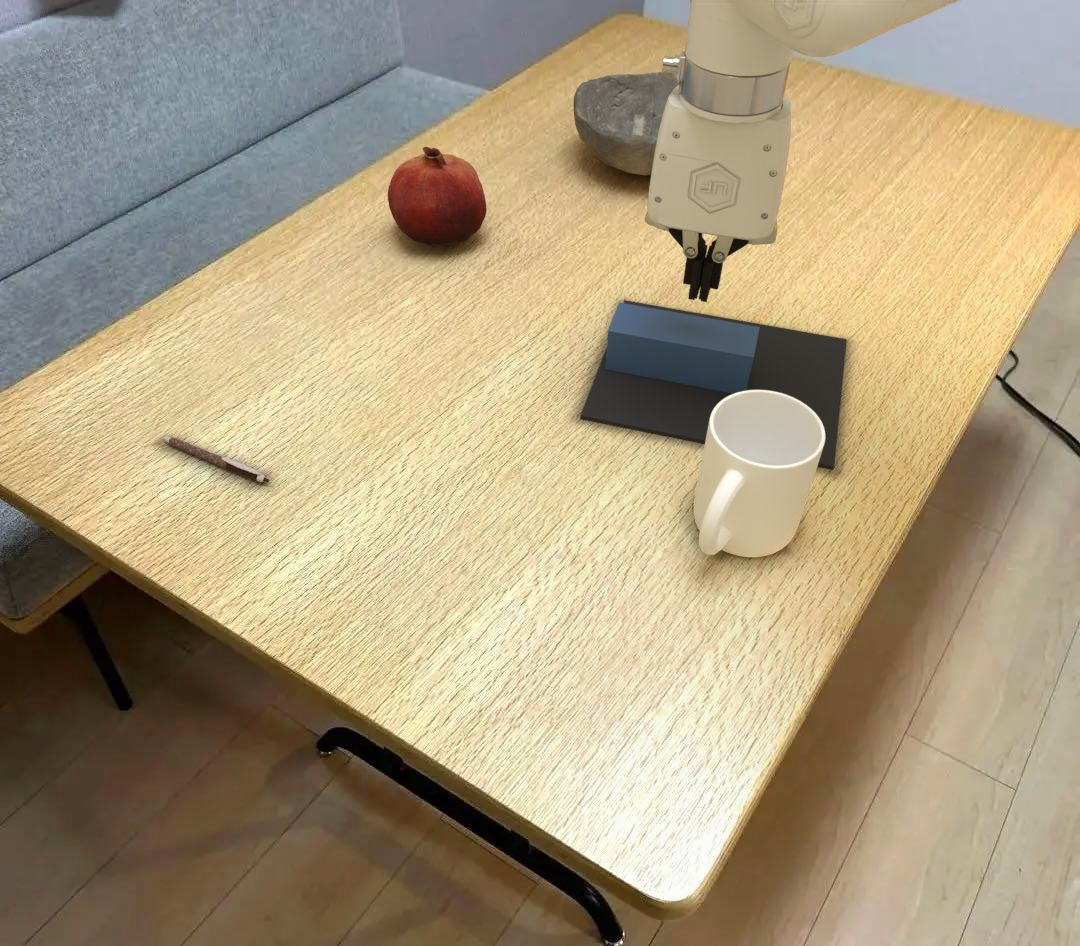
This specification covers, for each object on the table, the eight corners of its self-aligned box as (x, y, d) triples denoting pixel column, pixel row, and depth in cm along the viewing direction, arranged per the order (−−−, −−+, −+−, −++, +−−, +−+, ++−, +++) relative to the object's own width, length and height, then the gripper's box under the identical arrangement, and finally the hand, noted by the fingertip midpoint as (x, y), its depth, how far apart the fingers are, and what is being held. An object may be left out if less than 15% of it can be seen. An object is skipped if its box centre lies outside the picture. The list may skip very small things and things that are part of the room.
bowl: (725, 202, 110) (736, 136, 104) (573, 200, 110) (575, 134, 104) (706, 129, 122) (715, 67, 116) (570, 128, 122) (572, 66, 116)
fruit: (374, 249, 102) (363, 162, 95) (419, 205, 108) (412, 121, 101) (462, 272, 99) (457, 185, 92) (503, 226, 105) (502, 141, 98)
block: (759, 326, 85) (619, 302, 88) (753, 357, 82) (608, 330, 85) (751, 365, 88) (615, 340, 91) (745, 396, 85) (605, 369, 88)
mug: (742, 611, 69) (767, 518, 62) (646, 557, 73) (660, 463, 65) (814, 513, 76) (845, 419, 69) (723, 468, 79) (744, 374, 72)
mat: (845, 342, 92) (846, 338, 91) (833, 469, 80) (834, 466, 79) (624, 303, 96) (624, 299, 95) (580, 418, 84) (580, 415, 83)
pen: (272, 481, 78) (270, 473, 77) (266, 487, 77) (263, 479, 77) (167, 437, 81) (163, 428, 81) (160, 442, 81) (157, 434, 80)
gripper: (621, 89, 67) (605, 301, 81) (834, 117, 65) (782, 332, 78) (642, 48, 72) (624, 254, 86) (841, 73, 70) (791, 282, 83)
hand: (700, 291), depth 82 cm, fingers closed
